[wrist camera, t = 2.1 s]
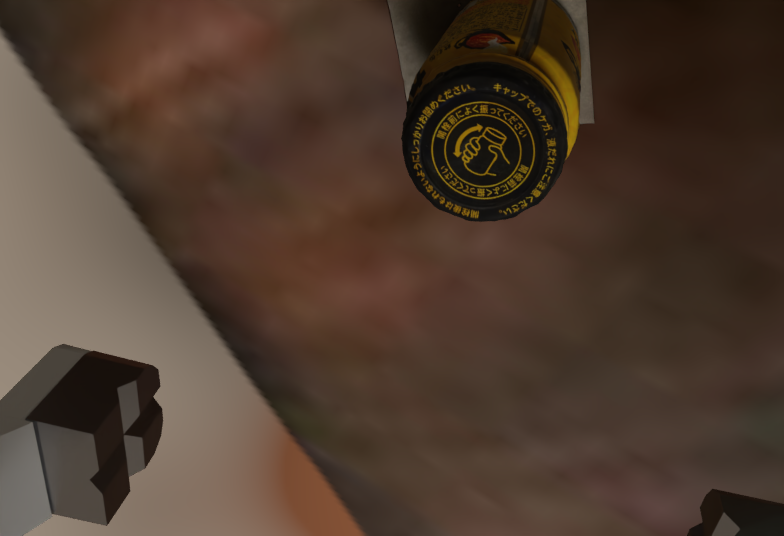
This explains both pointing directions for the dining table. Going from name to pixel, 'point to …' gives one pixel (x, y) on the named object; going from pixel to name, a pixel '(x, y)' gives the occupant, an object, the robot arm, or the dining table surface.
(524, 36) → the condiment
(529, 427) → the dining table surface
